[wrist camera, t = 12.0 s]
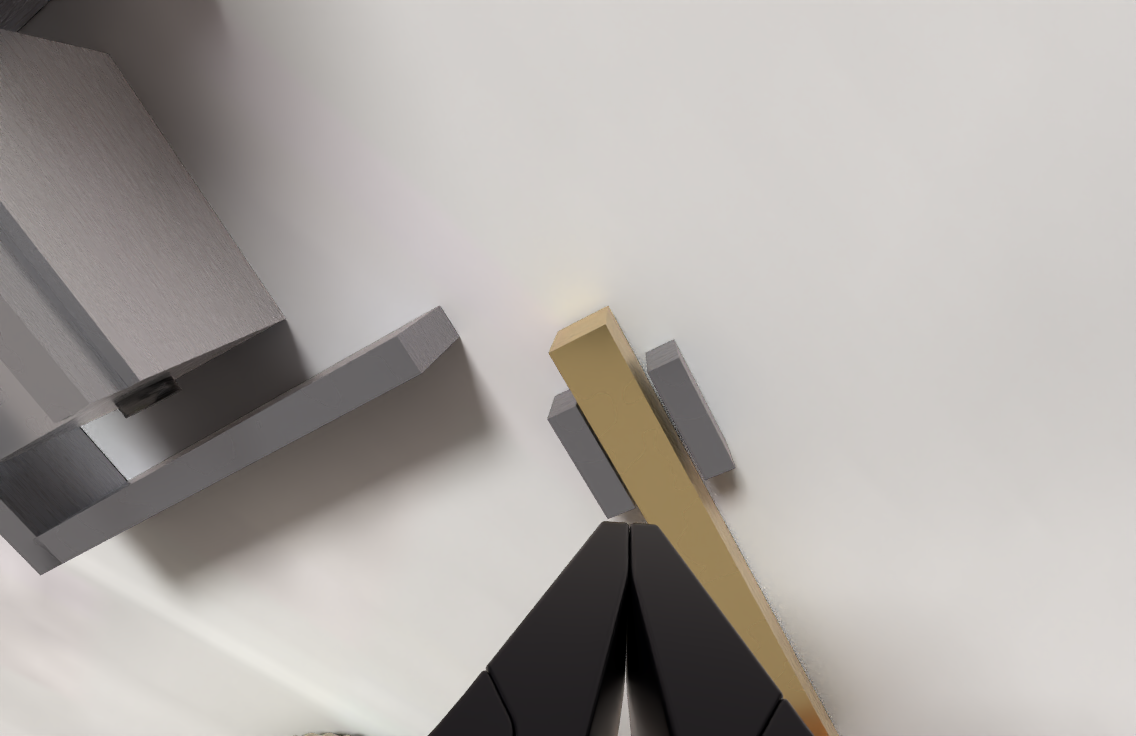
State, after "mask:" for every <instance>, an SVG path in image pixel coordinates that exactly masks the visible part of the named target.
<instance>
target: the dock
mask: <svg viewBox="0 0 1136 736" xmlns="http://www.w3.org/2000/svg"><path fill="white" fill-rule="evenodd" d="M49 1H50V0H0V29H4V30H8V31H12V32H17V31H18V30H19V29H20V28H21V27H22V26H23V25H24V24H26V23H27V22H28V21H29V20H30V19H31V18H32V17H33V16H34V15H35V14H36V13H37V12H38V11H39V10H40V9H41V8H42V7H43V6H44V5H45V4H46V3H47V2H49ZM458 338H459V335H458V334H457V332H456V331H455V329H454V328H453V326H452V324H451V323H450V321H449V320H448V318H447V316H446V315H445V313H444V312H443V310H442V308H441V307H440V306H438V307H436V308H434V309H433V310H431V311H429V312H427V313H425V314H424V315H422V316H420V317H418V318H417V319H415V320H413V321H411V322H409V323H408V324H406V325H404V326H402V327H401V328H399V329H397V330H395V331H393V332H392V333H390V334H388V335H386V336H385V337H383V338H381V339H379V340H377V341H376V342H374V343H372V344H370V345H369V346H367V347H365V348H363V349H362V350H360V351H358V352H356V353H354V354H353V355H351V356H349V357H347V358H346V359H344V360H342V361H340V362H338V363H337V364H335V365H333V366H331V367H330V368H328V369H326V370H324V371H322V372H321V373H319V374H317V375H315V376H314V377H312V378H310V379H308V380H307V381H305V382H303V383H301V384H299V385H298V386H296V387H294V388H292V389H291V390H289V391H287V392H285V393H283V394H282V395H280V396H278V397H276V398H275V399H273V400H271V401H269V402H267V403H266V404H264V405H262V406H260V407H259V408H257V409H255V410H253V411H251V412H250V413H248V414H246V415H244V416H243V417H241V418H239V419H237V420H236V421H234V422H232V423H230V424H228V425H227V426H225V427H223V428H221V429H220V430H218V431H216V432H214V433H212V434H211V435H209V436H207V437H205V438H204V439H202V440H200V441H198V442H196V443H195V444H193V445H191V446H189V447H188V448H186V449H184V450H182V451H180V452H179V453H177V454H175V455H173V456H172V457H170V458H168V459H166V460H165V461H163V462H161V463H159V464H157V465H156V466H154V467H152V468H150V469H149V470H147V471H145V472H143V473H141V474H140V475H138V476H136V477H134V478H133V479H131V480H129V481H126V480H125V479H124V478H123V476H122V475H121V474H120V473H119V472H118V471H117V470H116V468H115V467H114V466H113V465H112V464H111V463H110V462H109V460H108V459H107V458H106V457H105V456H104V455H103V454H102V452H101V451H100V450H99V449H98V448H97V447H96V446H95V444H94V443H93V442H92V441H91V440H90V439H89V438H88V436H87V435H86V434H85V433H84V432H83V431H82V430H81V428H80V427H78V428H76V429H74V430H71V431H69V432H67V433H65V434H63V435H61V436H58V437H56V438H54V439H52V440H50V441H48V442H45V443H43V444H41V445H39V446H37V447H35V448H33V449H30V450H28V451H26V452H24V453H22V454H20V455H17V456H15V457H13V458H11V459H9V460H7V461H4V462H2V463H0V535H1V536H2V537H3V538H4V539H5V540H6V541H7V542H8V543H9V544H10V545H11V546H12V547H13V548H14V549H15V550H16V551H17V552H18V553H19V554H20V555H21V556H22V557H23V558H24V559H25V560H26V561H27V562H28V563H29V564H30V565H31V566H32V567H33V568H34V569H35V570H36V571H37V572H38V573H39V574H40V575H42V574H44V573H46V572H48V571H50V570H51V569H53V568H55V567H57V566H59V565H61V564H63V563H65V562H67V561H68V560H70V559H72V558H74V557H76V556H78V555H80V554H82V553H84V552H85V551H87V550H89V549H91V548H93V547H95V546H97V545H99V544H101V543H102V542H104V541H106V540H108V539H110V538H112V537H114V536H116V535H118V534H119V533H121V532H123V531H125V530H127V529H129V528H131V527H133V526H135V525H136V524H138V523H140V522H142V521H144V520H146V519H148V518H150V517H152V516H153V515H155V514H157V513H159V512H161V511H163V510H165V509H167V508H169V507H170V506H172V505H174V504H176V503H178V502H180V501H182V500H184V499H185V498H187V497H189V496H191V495H193V494H195V493H197V492H199V491H201V490H202V489H204V488H206V487H208V486H210V485H212V484H214V483H216V482H218V481H219V480H221V479H223V478H225V477H227V476H229V475H231V474H233V473H235V472H236V471H238V470H240V469H242V468H244V467H246V466H248V465H250V464H252V463H253V462H255V461H257V460H259V459H261V458H263V457H265V456H267V455H269V454H270V453H272V452H274V451H276V450H278V449H280V448H282V447H284V446H286V445H287V444H289V443H291V442H293V441H295V440H297V439H299V438H301V437H303V436H304V435H306V434H308V433H310V432H312V431H314V430H316V429H318V428H320V427H321V426H323V425H325V424H327V423H329V422H331V421H333V420H335V419H337V418H338V417H340V416H342V415H344V414H346V413H348V412H350V411H352V410H354V409H355V408H357V407H359V406H361V405H363V404H365V403H367V402H369V401H371V400H372V399H374V398H376V397H378V396H380V395H382V394H384V393H386V392H387V391H389V390H391V389H393V388H395V387H397V386H399V385H401V384H403V383H404V382H406V381H408V380H410V379H412V378H414V377H416V376H418V375H420V374H421V373H423V372H424V371H425V370H426V369H427V368H428V367H429V366H430V365H431V364H432V363H433V362H434V361H435V360H436V359H437V358H438V357H439V356H440V355H441V354H442V353H443V352H444V351H445V350H446V349H447V348H448V347H449V346H450V345H451V344H452V343H453V342H455V341H456V340H457V339H458ZM646 362H647V372H648V374H649V376H650V378H651V380H652V382H653V383H654V385H655V387H656V389H657V391H658V393H659V395H660V397H661V398H662V400H663V402H664V404H665V406H666V408H667V410H668V412H669V413H670V415H671V417H672V419H673V421H674V423H675V425H676V427H677V428H678V430H679V432H680V434H681V436H682V438H683V440H684V441H685V443H686V445H687V447H688V449H689V451H690V453H691V455H692V456H693V458H694V460H695V462H696V464H697V466H698V468H699V470H700V471H701V473H702V475H703V477H704V479H705V480H707V479H709V478H712V477H714V476H717V475H719V474H722V473H724V472H727V471H729V470H732V469H734V468H736V467H735V465H734V462H733V459H732V457H731V454H730V451H729V448H728V446H727V443H726V440H725V438H724V436H723V434H722V432H721V430H720V428H719V426H718V425H717V423H716V421H715V419H714V417H713V415H712V413H711V411H710V409H709V407H708V405H707V403H706V401H705V399H704V397H703V395H702V393H701V391H700V389H699V387H698V385H697V383H696V381H695V379H694V377H693V376H692V374H691V372H690V370H689V368H688V366H687V364H686V362H685V360H684V358H683V356H682V354H681V352H680V350H679V348H678V346H677V344H676V342H675V340H672V341H670V342H667V343H665V344H663V345H661V346H659V347H657V348H655V349H653V350H651V351H649V352H647V353H646ZM548 421H549V423H550V424H551V426H552V428H553V429H554V431H555V433H556V434H557V436H558V438H559V439H560V441H561V443H562V444H563V446H564V447H565V449H566V451H567V452H568V454H569V456H570V457H571V459H572V461H573V462H574V464H575V466H576V467H577V469H578V471H579V472H580V474H581V476H582V477H583V479H584V481H585V482H586V484H587V485H588V487H589V489H590V490H591V492H592V494H593V495H594V497H595V499H596V500H597V502H598V504H599V505H600V507H601V509H602V510H603V512H604V514H605V515H606V517H607V518H608V519H609V518H612V517H614V516H617V515H619V514H622V513H624V512H627V511H629V510H632V509H634V508H635V501H634V499H633V497H632V495H631V494H630V492H629V490H628V488H627V487H626V485H625V483H624V482H623V480H622V478H621V476H620V475H619V473H618V471H617V470H616V468H615V466H614V464H613V463H612V461H611V459H610V458H609V456H608V454H607V452H606V451H605V449H604V447H603V446H602V444H601V442H600V440H599V439H598V437H597V435H596V434H595V432H594V430H593V428H592V427H591V425H590V423H589V422H588V420H587V418H586V416H585V415H584V413H583V411H582V410H581V408H580V406H579V404H578V403H577V401H576V399H575V398H574V396H573V394H572V392H571V391H570V389H569V390H567V391H565V392H563V393H561V394H559V395H557V396H555V397H554V400H553V404H552V407H551V410H550V413H549V416H548Z"/></svg>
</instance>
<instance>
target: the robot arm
mask: <svg viewBox="0 0 1136 736" xmlns="http://www.w3.org/2000/svg"><path fill="white" fill-rule="evenodd" d="M626 644H627V645H626ZM625 668H626V683H627V697H628V708H629V718H630V728H631V736H814V734H813V733H812V732H811V730H810V729H809V728H808V727H807V725H806V724H805V723H804V721H803V720H802V719H801V717H800V716H799V715H798V713H797V712H796V710H795V709H794V708H793V706H792V705H791V704H790V702H789V701H788V700H787V699H783V694H782V692H781V691H780V689H779V688H778V687H777V685H776V684H775V682H774V681H773V680H772V678H771V677H770V676H769V674H768V673H767V672H766V670H765V669H764V668H763V666H762V665H761V664H760V662H759V661H758V660H757V658H756V657H755V656H754V654H753V653H752V652H751V650H750V649H749V647H748V646H747V645H746V643H745V642H744V641H743V639H742V638H741V637H740V635H739V634H738V633H737V631H736V630H735V629H734V627H733V626H732V625H731V623H730V622H729V621H728V619H727V618H726V617H725V615H724V614H723V612H722V611H721V610H720V608H719V607H718V606H717V604H716V603H715V602H714V600H713V599H712V598H711V596H710V595H709V594H708V592H707V591H706V590H705V588H704V587H703V586H702V584H701V583H700V582H699V580H698V579H697V577H696V576H695V575H694V573H693V572H692V571H691V569H690V568H689V567H688V565H687V564H686V563H685V561H684V560H683V559H682V557H681V556H680V555H679V553H678V552H677V551H676V549H675V548H674V547H673V545H672V544H671V542H670V541H669V540H668V538H667V537H666V536H665V534H664V533H663V532H662V530H661V529H660V528H659V527H658V526H657V525H655V524H641V523H633V524H631V526H630V532H629V525H628V524H627V523H624V522H609V521H604V522H602V523H601V524H600V525H599V526H598V527H597V529H596V530H595V531H594V532H593V534H592V535H591V536H590V537H589V539H588V540H587V541H586V542H585V544H584V545H583V546H582V547H581V549H580V550H579V551H578V552H577V554H576V555H575V556H574V557H573V559H572V560H571V561H570V562H569V564H568V565H567V566H566V567H565V569H564V570H563V571H562V572H561V574H560V575H559V576H558V577H557V579H556V580H555V581H554V582H553V584H552V585H551V586H550V587H549V589H548V590H547V591H546V592H545V594H544V595H543V596H542V597H541V599H540V600H539V601H538V602H537V604H536V605H535V606H534V608H533V609H532V610H531V611H530V613H529V614H528V615H527V616H526V618H525V619H524V620H523V621H522V623H521V624H520V625H519V626H518V628H517V629H516V630H515V631H514V633H513V634H512V635H511V636H510V638H509V639H508V640H507V641H506V643H505V644H504V645H503V646H502V648H501V649H500V650H499V651H498V653H497V654H496V655H495V656H494V658H493V659H492V660H491V661H490V663H489V664H488V665H487V667H486V671H482V672H481V673H480V675H479V676H478V677H477V678H476V680H475V681H474V682H473V683H472V685H471V686H470V687H469V688H468V690H467V691H466V692H465V694H464V695H463V696H462V697H461V698H460V699H459V701H458V702H457V703H456V704H455V705H454V706H453V708H452V709H451V710H450V711H449V712H448V714H447V715H446V716H445V717H444V718H443V719H442V721H441V722H440V723H439V724H438V725H437V726H436V728H435V729H434V730H433V731H432V732H431V733H430V734H429V735H428V736H618V730H619V723H620V716H621V708H622V701H623V693H624V684H625Z"/></svg>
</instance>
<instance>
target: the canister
mask: <svg viewBox="0 0 1136 736" xmlns="http://www.w3.org/2000/svg"><path fill="white" fill-rule="evenodd" d="M295 736H296V735H295ZM303 736H339V735H335V734H332V733H325V734H323V735H318V734H314V733H308V734H305V735H303ZM345 736H350V735H345Z"/></svg>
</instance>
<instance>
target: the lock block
mask: <svg viewBox="0 0 1136 736" xmlns="http://www.w3.org/2000/svg"><path fill="white" fill-rule="evenodd" d="M284 319H286V318H285V317H284V315H283V314H282V312H281V311H280V309H279V308H278V306H277V305H276V303H275V302H274V300H273V299H272V297H271V296H270V294H269V293H268V291H267V290H266V288H265V287H264V285H263V284H262V282H261V281H260V279H259V278H258V276H257V275H256V273H255V272H254V270H253V269H252V267H251V266H250V264H249V263H248V261H247V260H246V258H245V257H244V255H243V254H242V252H241V251H240V250H239V248H238V247H237V245H236V244H235V242H234V241H233V239H232V238H231V236H230V235H229V233H228V232H227V230H226V229H225V227H224V226H223V224H222V223H221V221H220V220H219V218H218V217H217V215H216V214H215V212H214V211H213V209H212V208H211V206H210V205H209V203H208V202H207V200H206V199H205V197H204V196H203V194H202V193H201V191H200V190H199V188H198V187H197V185H196V184H195V182H194V181H193V179H192V178H191V176H190V175H189V173H188V172H187V170H186V169H185V167H184V166H183V164H182V163H181V161H180V160H179V158H178V157H177V155H176V154H175V152H174V151H173V150H172V148H171V147H170V145H169V144H168V142H167V141H166V139H165V138H164V136H163V135H162V133H161V132H160V130H159V129H158V127H157V126H156V124H155V123H154V121H153V120H152V118H151V117H150V115H149V114H148V112H147V111H146V109H145V108H144V106H143V105H142V103H141V102H140V100H139V99H138V97H137V96H136V94H135V93H134V91H133V90H132V88H131V87H130V85H129V84H128V82H127V81H126V79H125V78H124V76H123V75H122V73H121V72H120V70H119V69H118V67H117V66H116V64H115V63H114V61H113V60H112V58H111V57H110V55H109V54H108V53H104V52H99V51H95V50H91V49H86V48H82V47H78V46H73V45H69V44H65V43H60V42H56V41H51V40H47V39H43V38H38V37H34V36H30V35H25V34H21V33H17V32H12V31H8V30H4V29H0V463H2V462H4V461H7V460H9V459H11V458H13V457H15V456H17V455H20V454H22V453H24V452H26V451H28V450H30V449H33V448H35V447H37V446H39V445H41V444H43V443H45V442H48V441H50V440H52V439H54V438H56V437H58V436H61V435H63V434H65V433H67V432H69V431H71V430H74V429H76V428H78V427H80V426H82V425H84V424H86V423H89V422H91V421H93V420H95V419H97V418H99V417H102V416H104V415H106V414H108V413H110V412H112V411H115V410H117V409H119V410H120V411H121V413H122V414H123V415H124V416H125V418H128V417H130V416H132V415H134V414H136V413H138V412H140V411H142V410H144V409H146V408H148V407H150V406H152V405H154V404H156V403H158V402H160V401H162V400H164V399H166V398H168V397H170V396H171V395H173V394H175V393H177V392H179V391H180V390H182V389H181V388H180V387H179V385H178V384H177V383H176V381H175V379H177V378H179V377H181V376H183V375H184V374H186V373H188V372H190V371H192V370H194V369H195V368H197V367H199V366H201V365H203V364H204V363H206V362H208V361H210V360H212V359H213V358H215V357H217V356H219V355H221V354H223V353H224V352H226V351H228V350H230V349H232V348H233V347H235V346H237V345H239V344H241V343H243V342H244V341H246V340H248V339H250V338H252V337H253V336H255V335H257V334H259V333H261V332H262V331H264V330H266V329H268V328H270V327H272V326H273V325H275V324H277V323H279V322H281V321H282V320H284Z"/></svg>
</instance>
